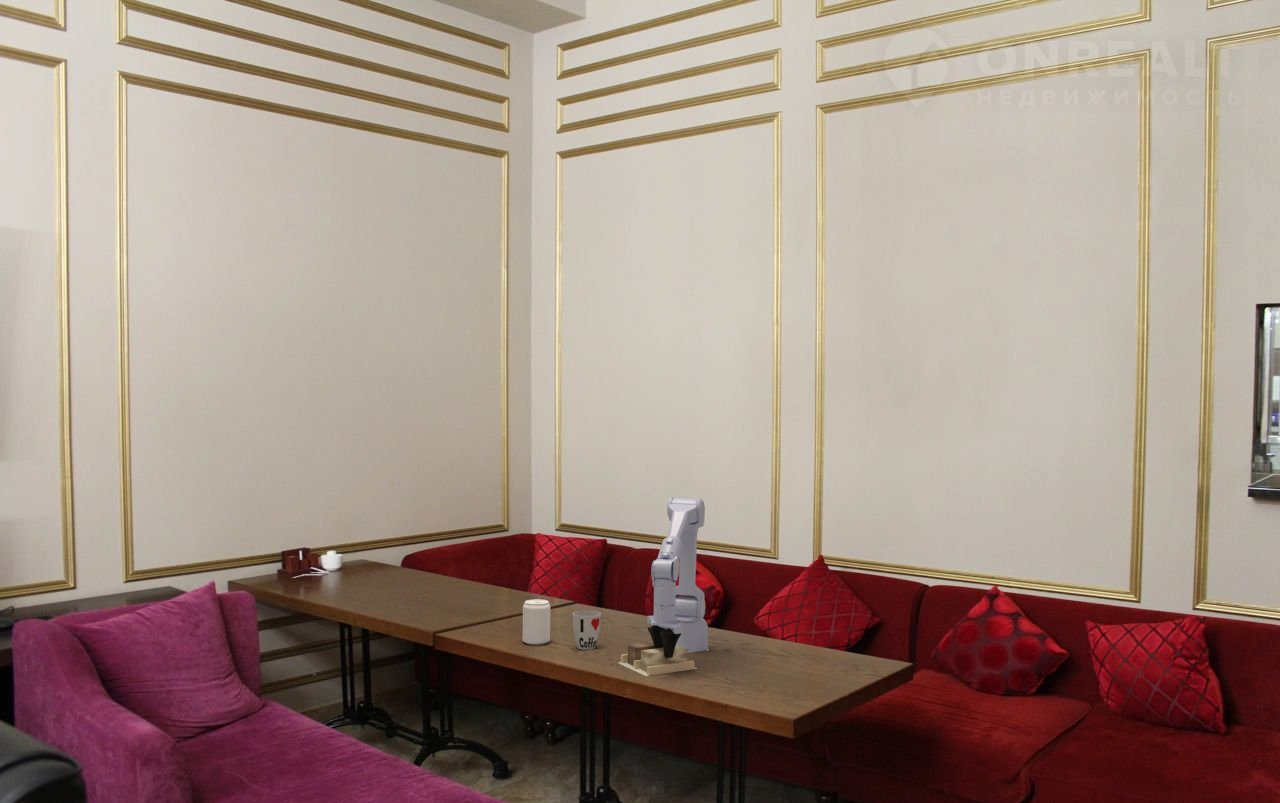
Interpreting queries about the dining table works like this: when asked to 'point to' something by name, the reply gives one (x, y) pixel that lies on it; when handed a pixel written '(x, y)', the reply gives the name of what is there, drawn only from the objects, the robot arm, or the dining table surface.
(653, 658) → the beige wooden block
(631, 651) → the brown wooden block
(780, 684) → the dining table surface
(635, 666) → the slot board
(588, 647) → the cup
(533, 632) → the beverage can
